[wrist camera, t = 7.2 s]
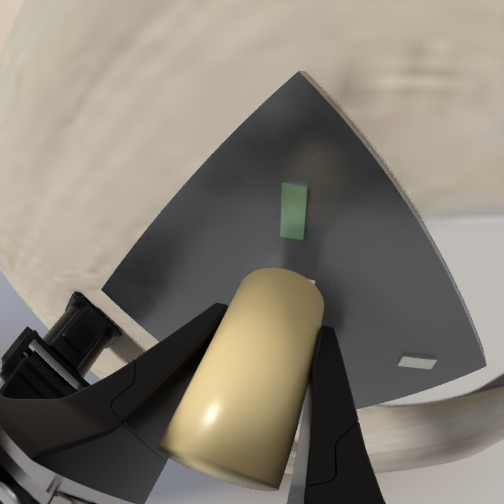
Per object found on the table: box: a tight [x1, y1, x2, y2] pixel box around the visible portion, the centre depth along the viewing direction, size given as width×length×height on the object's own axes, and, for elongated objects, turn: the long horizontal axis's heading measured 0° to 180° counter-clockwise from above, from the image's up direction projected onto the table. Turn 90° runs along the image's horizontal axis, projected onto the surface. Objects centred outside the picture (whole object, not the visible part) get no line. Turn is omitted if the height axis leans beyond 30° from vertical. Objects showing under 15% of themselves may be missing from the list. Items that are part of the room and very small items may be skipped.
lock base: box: [101, 71, 486, 409], centre depth 17 cm, size 20×20×3 cm
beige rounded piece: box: [157, 268, 324, 491], centre depth 11 cm, size 12×7×8 cm, turn 178°
